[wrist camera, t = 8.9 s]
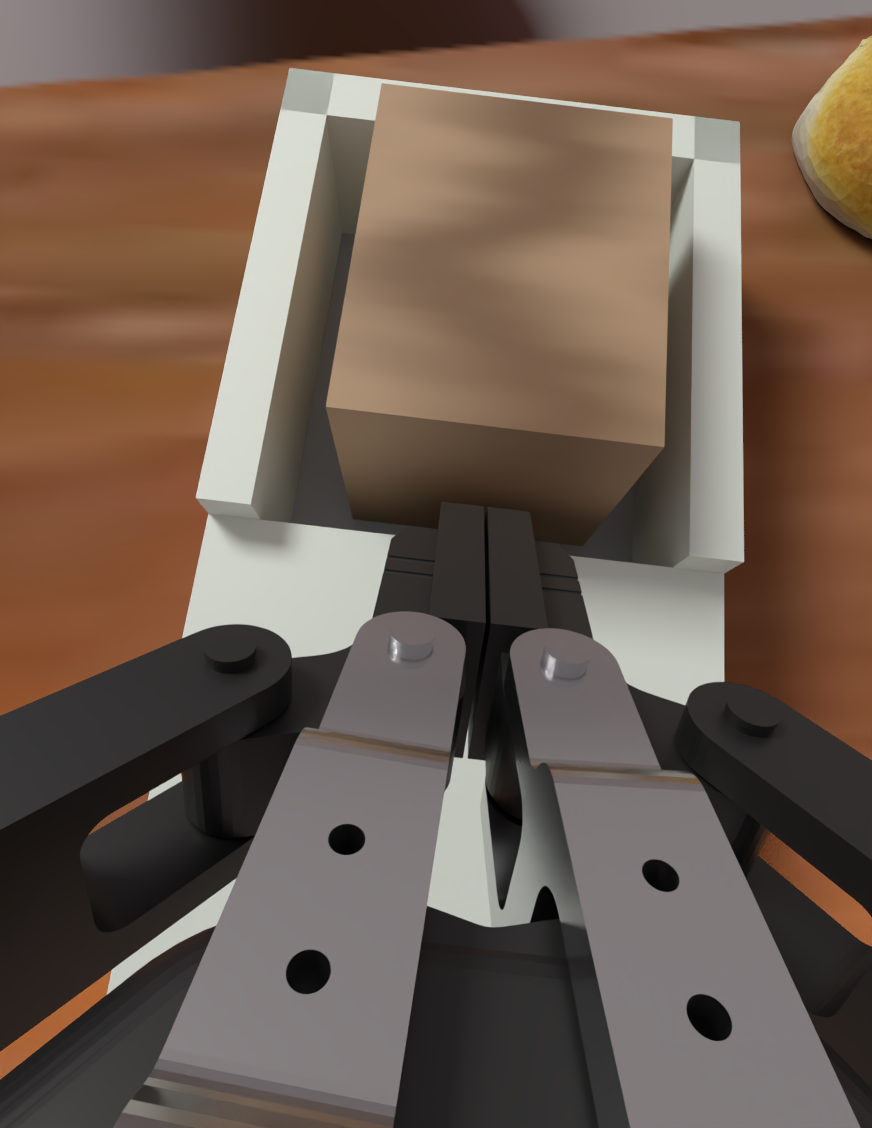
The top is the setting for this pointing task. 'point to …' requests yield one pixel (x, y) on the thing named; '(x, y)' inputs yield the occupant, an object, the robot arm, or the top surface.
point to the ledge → (347, 600)
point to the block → (504, 311)
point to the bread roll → (841, 142)
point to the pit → (314, 307)
